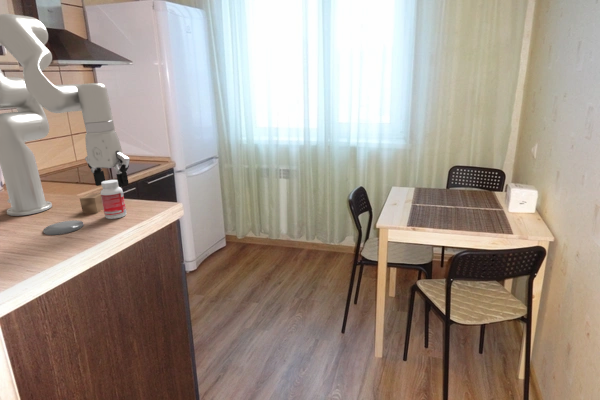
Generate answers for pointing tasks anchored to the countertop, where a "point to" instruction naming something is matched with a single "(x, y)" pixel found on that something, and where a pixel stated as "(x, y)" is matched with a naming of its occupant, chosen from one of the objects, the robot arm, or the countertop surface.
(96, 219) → the countertop surface
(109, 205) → the pill bottle
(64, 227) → the coaster
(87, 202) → the light brown wooden block
